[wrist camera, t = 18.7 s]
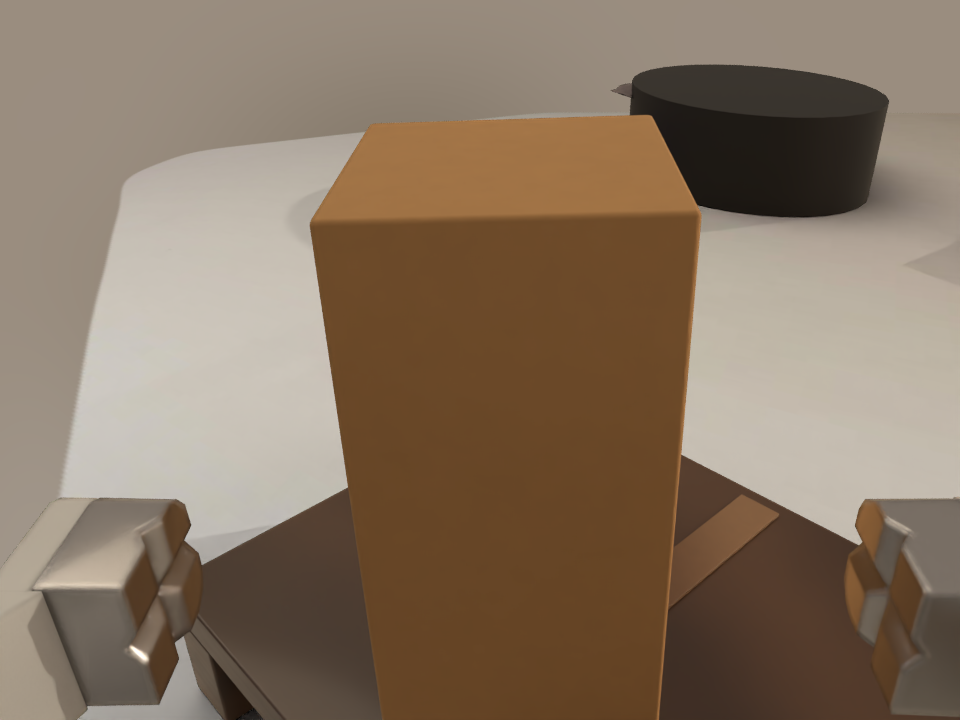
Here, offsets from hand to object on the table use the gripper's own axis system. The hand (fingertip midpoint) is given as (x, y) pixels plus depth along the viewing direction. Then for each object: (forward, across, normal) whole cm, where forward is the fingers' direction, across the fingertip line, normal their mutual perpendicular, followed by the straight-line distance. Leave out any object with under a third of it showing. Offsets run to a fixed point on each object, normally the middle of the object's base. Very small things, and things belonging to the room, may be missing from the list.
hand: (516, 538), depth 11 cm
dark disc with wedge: (+53, -16, +13) cm, 57 cm away
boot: (+7, 0, +9) cm, 11 cm away
